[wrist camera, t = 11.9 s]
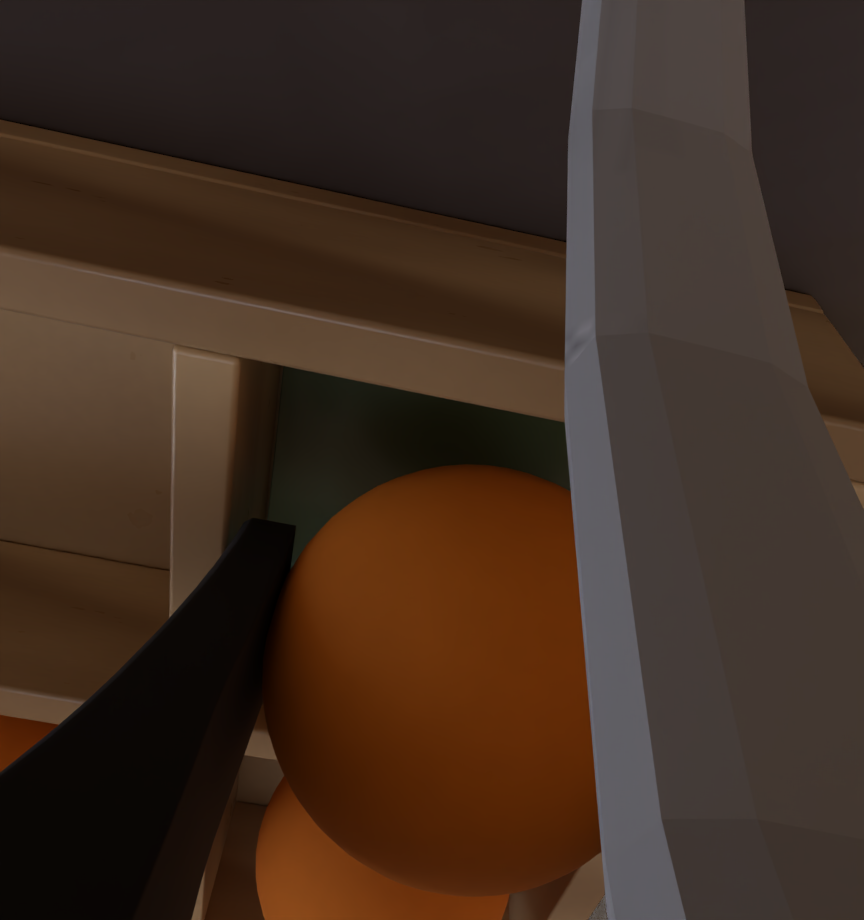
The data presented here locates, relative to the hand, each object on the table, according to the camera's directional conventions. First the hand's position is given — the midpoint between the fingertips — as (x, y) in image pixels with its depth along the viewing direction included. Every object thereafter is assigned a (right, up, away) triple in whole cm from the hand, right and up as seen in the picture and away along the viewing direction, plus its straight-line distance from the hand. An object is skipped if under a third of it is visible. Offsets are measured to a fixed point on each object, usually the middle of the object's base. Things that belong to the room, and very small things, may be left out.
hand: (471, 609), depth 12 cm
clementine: (0, -1, -1) cm, 1 cm away
